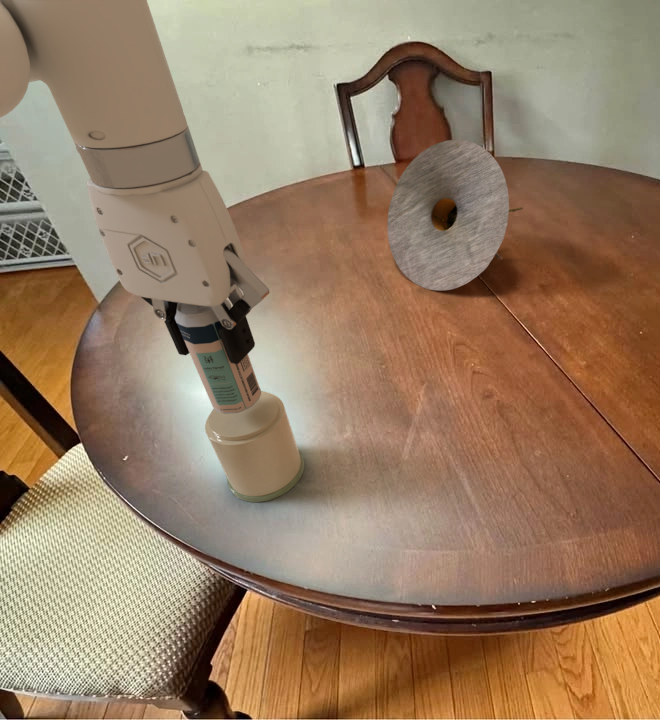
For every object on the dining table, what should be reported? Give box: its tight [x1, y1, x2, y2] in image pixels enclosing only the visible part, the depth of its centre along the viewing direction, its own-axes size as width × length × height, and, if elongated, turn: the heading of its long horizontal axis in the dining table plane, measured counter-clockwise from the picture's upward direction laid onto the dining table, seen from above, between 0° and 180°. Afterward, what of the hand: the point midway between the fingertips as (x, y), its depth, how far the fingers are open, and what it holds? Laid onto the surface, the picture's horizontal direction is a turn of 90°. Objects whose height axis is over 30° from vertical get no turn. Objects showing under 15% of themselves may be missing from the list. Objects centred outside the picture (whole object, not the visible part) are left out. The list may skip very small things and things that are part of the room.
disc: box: [387, 139, 524, 291], centre depth 98 cm, size 25×18×25 cm
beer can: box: [175, 298, 262, 414], centre depth 53 cm, size 5×5×12 cm
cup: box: [204, 390, 305, 503], centre depth 61 cm, size 8×8×10 cm
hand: (217, 349), depth 53 cm, fingers closed on beer can, 4 cm apart
